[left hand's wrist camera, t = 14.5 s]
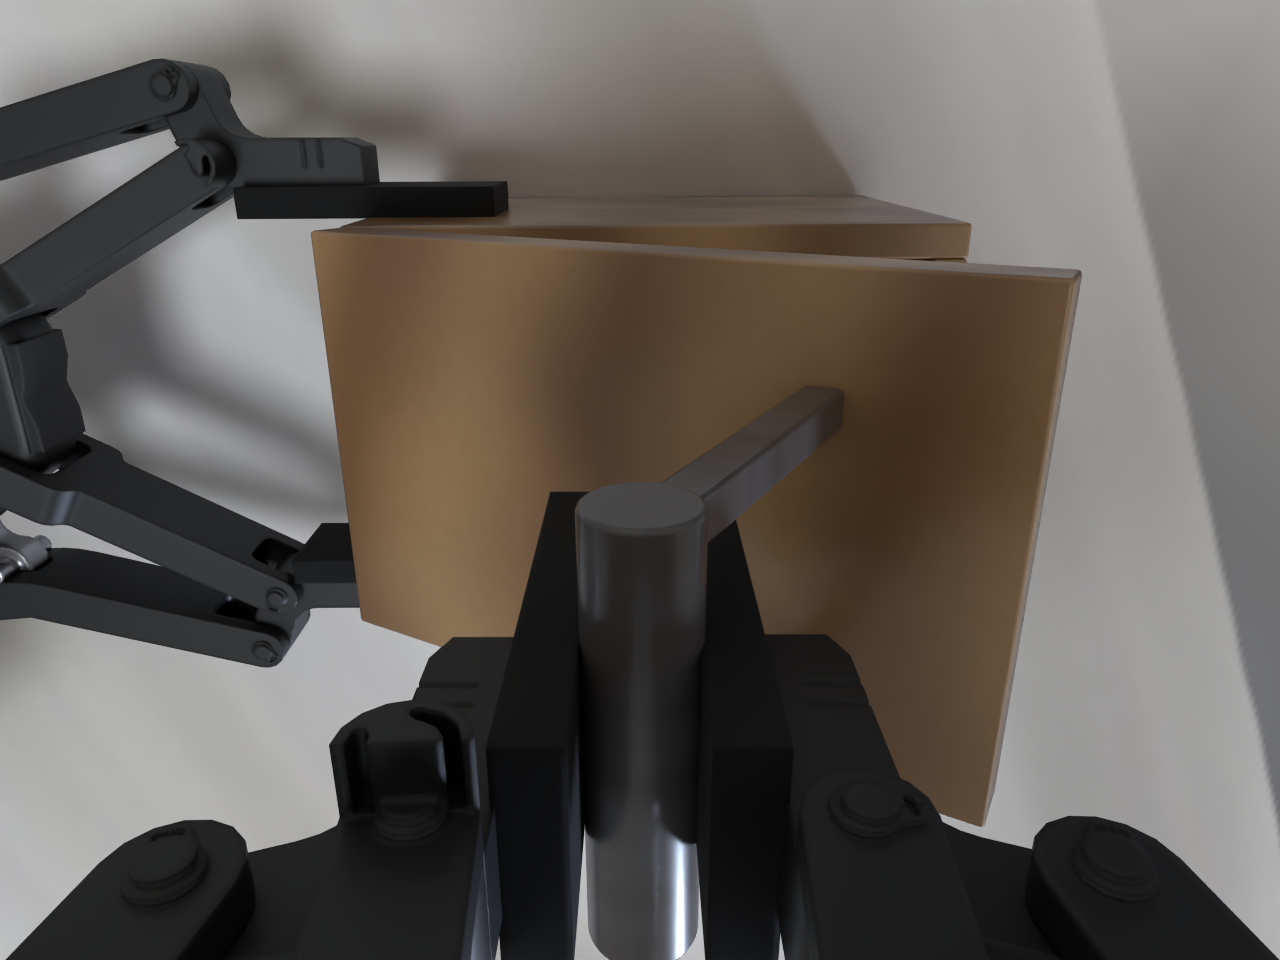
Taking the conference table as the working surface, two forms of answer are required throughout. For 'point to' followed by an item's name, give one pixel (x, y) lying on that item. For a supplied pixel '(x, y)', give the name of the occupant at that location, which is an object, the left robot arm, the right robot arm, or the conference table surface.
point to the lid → (702, 490)
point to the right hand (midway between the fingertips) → (512, 387)
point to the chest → (719, 224)
